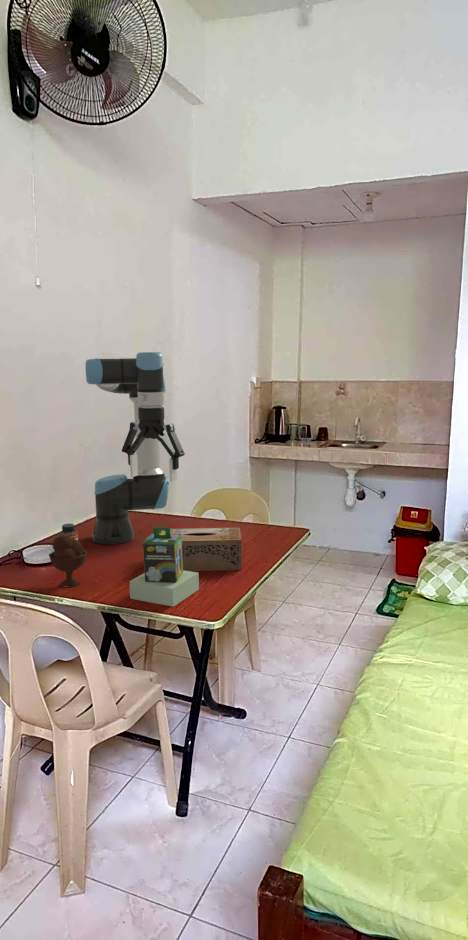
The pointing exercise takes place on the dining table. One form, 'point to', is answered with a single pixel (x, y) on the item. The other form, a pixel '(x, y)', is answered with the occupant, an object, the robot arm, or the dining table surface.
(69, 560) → the ice cream bowl
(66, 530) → the supplement bottle
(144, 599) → the plinth
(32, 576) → the dining table surface
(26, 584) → the dining table surface
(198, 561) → the tissue box cover
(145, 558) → the chalk box
